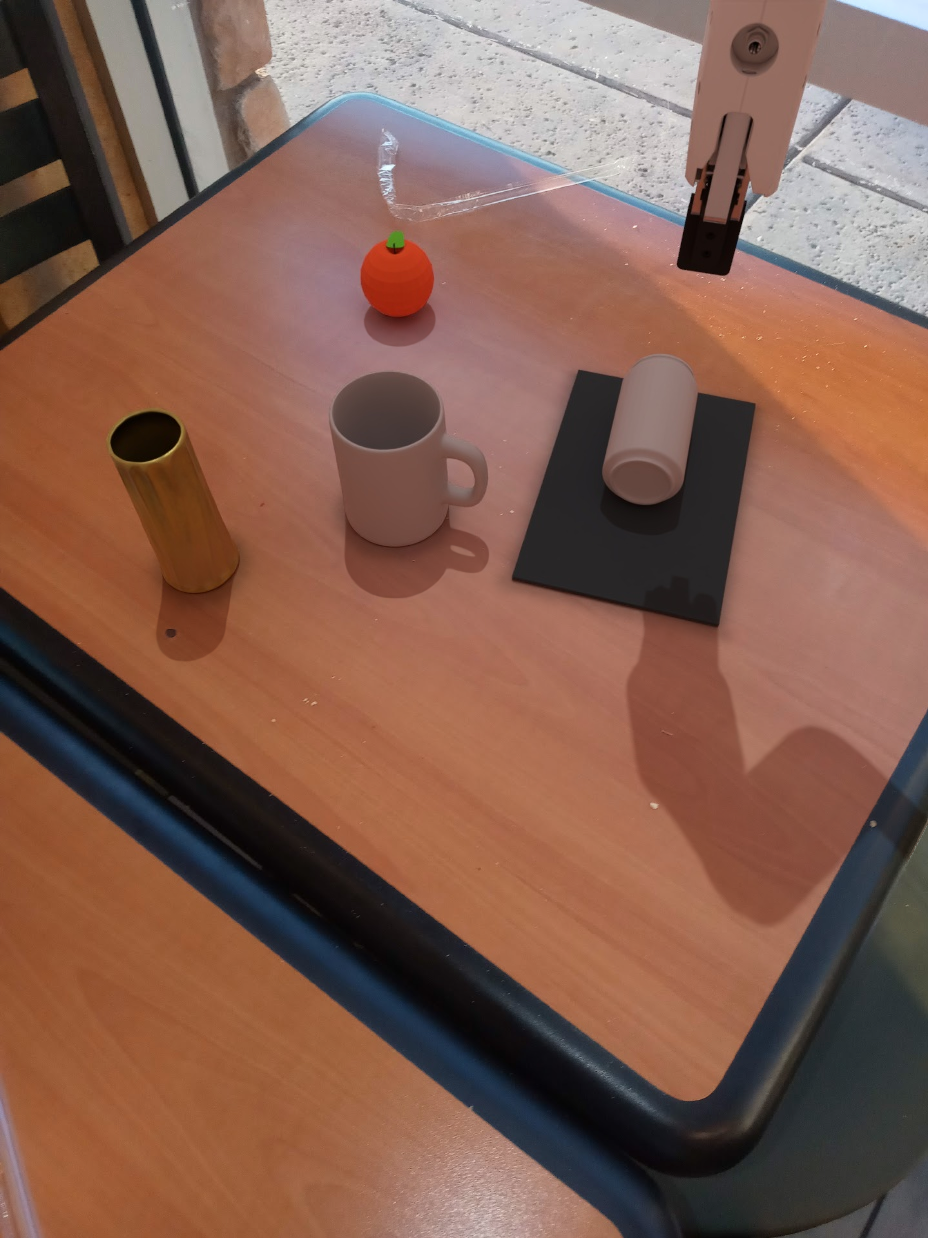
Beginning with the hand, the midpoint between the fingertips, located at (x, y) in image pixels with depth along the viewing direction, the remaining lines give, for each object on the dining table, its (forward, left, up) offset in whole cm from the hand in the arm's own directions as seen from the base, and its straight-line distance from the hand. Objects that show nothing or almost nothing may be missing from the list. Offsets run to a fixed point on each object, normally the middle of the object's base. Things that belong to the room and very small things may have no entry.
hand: (703, 264), depth 56 cm
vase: (+15, +33, -23) cm, 43 cm away
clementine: (+33, +4, -23) cm, 40 cm away
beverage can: (0, +2, -19) cm, 19 cm away
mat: (+2, -1, -23) cm, 23 cm away
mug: (+10, +16, -23) cm, 30 cm away
